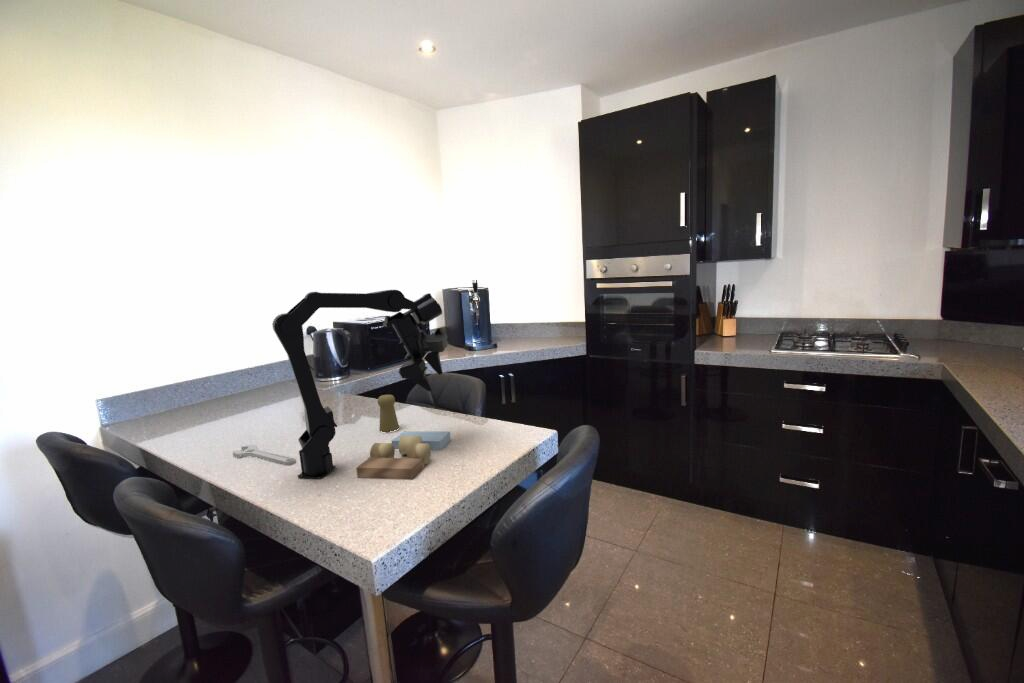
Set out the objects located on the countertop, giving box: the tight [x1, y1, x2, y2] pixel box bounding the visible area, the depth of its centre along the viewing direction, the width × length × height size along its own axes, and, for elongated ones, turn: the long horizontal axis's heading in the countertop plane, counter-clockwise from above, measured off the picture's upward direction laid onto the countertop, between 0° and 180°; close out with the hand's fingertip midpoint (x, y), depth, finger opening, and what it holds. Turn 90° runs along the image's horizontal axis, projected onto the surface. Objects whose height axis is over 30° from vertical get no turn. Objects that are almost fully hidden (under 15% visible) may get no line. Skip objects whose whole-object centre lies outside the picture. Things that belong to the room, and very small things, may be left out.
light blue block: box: [391, 430, 451, 455], centre depth 124 cm, size 14×13×5 cm
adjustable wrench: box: [232, 444, 297, 466], centre depth 124 cm, size 25×6×2 cm, turn 55°
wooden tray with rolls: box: [356, 442, 432, 480], centre depth 111 cm, size 14×11×5 cm
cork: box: [377, 394, 400, 432], centre depth 141 cm, size 6×6×11 cm
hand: (435, 382), depth 126 cm, fingers open, 9 cm apart
